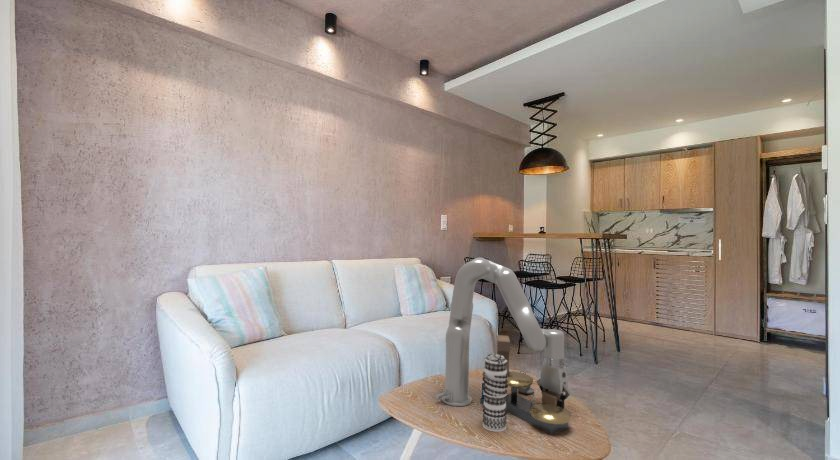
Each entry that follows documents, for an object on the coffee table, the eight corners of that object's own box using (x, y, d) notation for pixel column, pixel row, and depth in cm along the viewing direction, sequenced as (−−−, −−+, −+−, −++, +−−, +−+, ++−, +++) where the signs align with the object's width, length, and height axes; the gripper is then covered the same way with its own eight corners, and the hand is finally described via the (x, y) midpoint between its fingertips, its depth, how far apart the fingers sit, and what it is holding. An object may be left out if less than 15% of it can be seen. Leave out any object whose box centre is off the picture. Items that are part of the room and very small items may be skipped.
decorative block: (509, 385, 175) (510, 341, 175) (496, 384, 176) (497, 340, 177) (508, 376, 186) (509, 335, 186) (496, 375, 187) (497, 334, 187)
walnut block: (554, 413, 147) (554, 398, 148) (541, 407, 152) (542, 392, 153) (564, 410, 151) (564, 394, 151) (551, 404, 156) (551, 389, 156)
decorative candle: (509, 423, 139) (511, 354, 140) (504, 434, 131) (506, 361, 131) (485, 417, 143) (486, 350, 143) (478, 428, 134) (480, 357, 135)
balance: (553, 440, 128) (554, 404, 128) (488, 405, 153) (489, 375, 154) (578, 429, 135) (579, 395, 136) (512, 398, 161) (513, 369, 161)
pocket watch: (532, 389, 171) (532, 366, 171) (536, 397, 163) (536, 373, 163) (513, 388, 172) (514, 365, 172) (516, 395, 164) (517, 372, 164)
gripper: (578, 366, 147) (578, 413, 147) (542, 354, 161) (541, 397, 161) (566, 369, 143) (566, 418, 142) (530, 357, 157) (529, 401, 157)
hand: (553, 406), depth 152 cm, fingers closed on walnut block, 6 cm apart
